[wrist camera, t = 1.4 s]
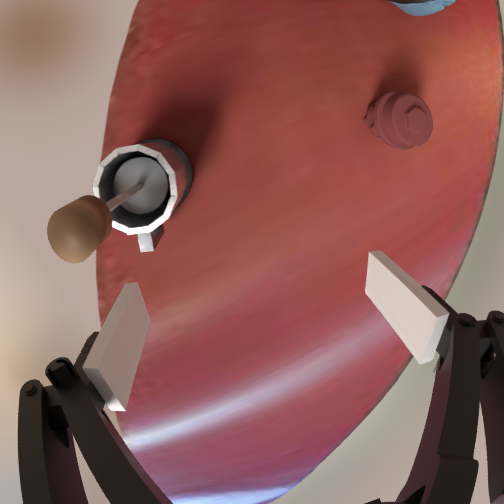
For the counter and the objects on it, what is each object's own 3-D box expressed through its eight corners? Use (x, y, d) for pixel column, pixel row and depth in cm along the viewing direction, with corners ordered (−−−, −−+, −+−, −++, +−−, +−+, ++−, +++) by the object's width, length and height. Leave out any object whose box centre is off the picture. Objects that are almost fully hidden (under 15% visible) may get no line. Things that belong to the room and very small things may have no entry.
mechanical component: (379, 85, 41) (407, 127, 44) (344, 113, 43) (375, 156, 46) (418, 77, 30) (448, 130, 33) (379, 109, 32) (414, 165, 35)
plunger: (112, 162, 35) (22, 194, 16) (165, 153, 35) (104, 173, 16) (120, 215, 38) (47, 285, 19) (171, 209, 38) (126, 280, 19)
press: (116, 145, 41) (83, 150, 30) (189, 133, 42) (176, 132, 31) (128, 230, 48) (104, 259, 36) (198, 223, 48) (190, 251, 37)
